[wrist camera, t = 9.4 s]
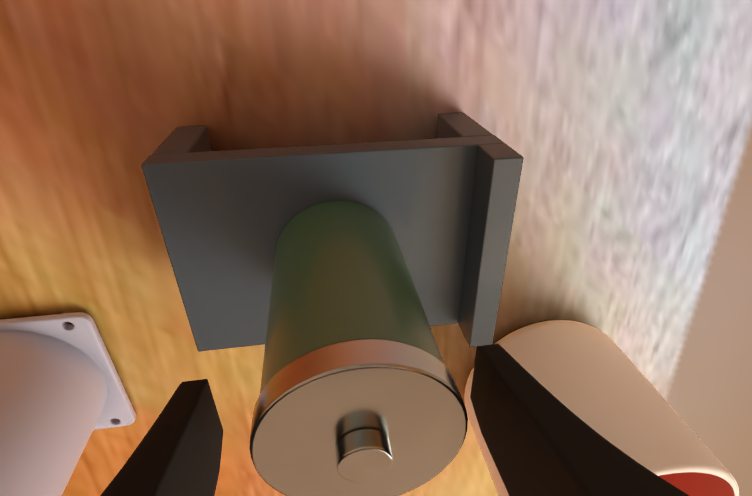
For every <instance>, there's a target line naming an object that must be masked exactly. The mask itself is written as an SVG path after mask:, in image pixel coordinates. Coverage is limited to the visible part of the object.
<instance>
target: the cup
mask: <svg viewBox="0 0 752 496" xmlns="http://www.w3.org/2000/svg"><path fill="white" fill-rule="evenodd" d="M494 344H499V345H500V346H501V347H503V348H504V349H505V350H506V351H507V352H508V353H509V354H510V355H511V356H512V357H513V358H514V359H515V360H516V361H517V362H518V363H519V364H520V365H521V366H522V367H523V368H524V369H525V370H526V371H527V372H529V373H530V374H531V375H532V376H533V377H534V378H535V379H536V380H537V381H538V382H539V383H540V384H541V385H542V386H543V387H545V388H546V389H547V390H548V391H549V392H550V393H551V394H552V395H553V396H555V397H556V398H557V399H558V400H559V401H560V402H561V403H562V404H564V405H565V406H566V407H567V408H568V409H569V410H570V411H572V412H573V413H574V414H575V415H576V416H578V417H579V418H580V419H581V420H582V421H584V422H585V423H586V424H587V425H589V426H590V427H591V428H592V429H593V430H595V431H596V432H597V433H598V434H600V435H601V436H602V437H604V438H605V439H606V440H608V441H609V442H610V443H611V444H613V445H614V446H616V447H617V448H618V449H620V450H621V451H623V452H624V453H625V454H627V455H628V456H630V457H631V458H632V459H634V460H635V461H637V462H638V463H639V464H641V465H642V466H644V467H645V468H647V469H648V470H650V471H651V472H653V473H654V474H656V475H657V476H659V477H661V478H662V479H664V480H665V481H667V482H669V483H670V484H672V485H673V486H675V487H676V488H678V489H680V490H681V491H683V492H684V493H686V494H688V495H689V496H739V488H738V484H737V482H736V480H735V479H734V477H733V476H732V475H731V474H730V472H729V471H728V470H727V469H726V468H725V467H724V466H723V464H722V463H721V462H720V461H719V460H718V459H717V458H716V457H715V455H714V454H713V453H712V452H711V451H710V450H709V449H708V448H707V446H706V445H705V444H704V443H703V442H702V441H701V440H700V439H699V437H698V436H697V435H696V434H695V433H694V432H693V431H692V430H691V428H690V427H689V426H688V425H687V424H686V423H685V422H684V420H683V419H682V418H681V417H680V416H679V415H678V414H677V413H676V411H675V410H674V409H673V408H672V407H671V406H670V405H669V404H668V402H667V401H666V400H665V399H664V398H663V397H662V396H661V394H660V393H659V392H658V391H657V390H656V389H655V388H654V387H653V385H652V384H651V383H650V382H649V381H648V380H647V379H646V378H645V376H644V375H643V374H642V373H641V372H640V371H639V370H638V369H637V367H636V366H635V365H634V364H633V363H632V362H631V361H630V359H629V358H628V357H627V356H626V355H625V354H624V353H623V352H622V350H621V349H620V348H619V347H618V346H617V345H616V344H615V343H614V341H613V340H612V339H611V338H610V337H609V336H607V335H606V334H605V333H603V332H602V331H600V330H599V329H597V328H595V327H593V326H590V325H587V324H584V323H581V322H576V321H569V320H551V321H544V322H539V323H535V324H531V325H528V326H525V327H523V328H520V329H518V330H516V331H513V332H512V333H510V334H508V335H506V336H505V337H503V338H502V339H500V340H498V341H497V342H496V343H494ZM473 373H474V367H473V369H472V370H471V372H470V374H469V377H468V379H467V383H466V387H465V394H464V399H465V408H466V411H467V415H468V418H469V420H470V423H471V425H472V428H473V431H474V433H475V436H476V438H477V441H478V444H479V446H480V449H481V451H482V454H483V457H484V459H485V462H486V464H487V467H488V469H489V472H490V475H491V477H492V480H493V482H494V485H495V488H496V490H497V493H498V495H499V496H509V494H508V492H507V490H506V488H505V485H504V483H503V481H502V479H501V476H500V474H499V472H498V470H497V467H496V465H495V463H494V461H493V458H492V456H491V454H490V452H489V449H488V447H487V445H486V443H485V440H484V438H483V436H482V433H481V430H480V427H479V424H478V421H477V418H476V415H475V411H474V408H473V405H472V402H471V398H470V395H471V387H472V380H473Z"/></svg>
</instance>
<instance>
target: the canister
mask: <svg viewBox="0 0 752 496" xmlns="http://www.w3.org/2000/svg"><path fill="white" fill-rule="evenodd" d="M467 421H468V418H467V411H466V408H465V405H464V402H463V400H462V397H461V395H460V392H459V389H458V387H457V384H456V382H455V379H454V377H453V376H452V374H451V372H450V371H449V370H448V368H447V367H446V366H445V365H444V362H443V360H442V357H441V354H440V352H439V349H438V346H437V344H436V341H435V339H434V336H433V333H432V331H431V328H430V325H429V323H428V320H427V317H426V315H425V312H424V309H423V307H422V304H421V302H420V299H419V296H418V294H417V291H416V288H415V286H414V283H413V280H412V278H411V275H410V272H409V270H408V267H407V265H406V262H405V259H404V257H403V254H402V251H401V249H400V246H399V243H398V241H397V238H396V235H395V233H394V231H393V229H392V227H391V225H390V224H389V223H388V222H387V220H386V219H385V218H384V217H383V216H382V215H380V214H379V213H378V212H376V211H375V210H373V209H371V208H369V207H368V206H365V205H362V204H360V203H355V202H351V201H328V202H323V203H319V204H316V205H313V206H311V207H309V208H307V209H305V210H303V211H301V212H300V213H299V214H297V215H296V216H295V217H293V218H292V219H291V220H290V221H289V222H288V224H287V225H286V226H285V227H284V229H283V231H282V232H281V234H280V236H279V239H278V241H277V245H276V251H275V260H274V269H273V279H272V288H271V297H270V306H269V316H268V325H267V334H266V343H265V353H264V362H263V371H262V380H261V390H260V395H259V397H258V400H257V402H256V404H255V408H254V412H253V420H252V428H251V436H250V454H251V458H252V461H253V464H254V466H255V469H256V470H257V472H258V473H259V475H260V476H261V477H262V478H263V480H264V481H265V482H266V483H267V484H269V485H270V486H271V487H272V488H274V489H275V490H277V491H279V492H280V493H282V494H284V495H286V496H399V495H402V494H404V493H406V492H409V491H411V490H413V489H415V488H417V487H419V486H421V485H423V484H424V483H426V482H427V481H429V480H430V479H432V478H433V477H435V476H436V475H437V474H438V473H440V472H441V471H442V470H443V469H444V468H445V467H446V466H447V465H448V464H449V463H450V462H451V461H452V460H453V459H454V457H455V456H456V455H457V453H458V451H459V450H460V448H461V446H462V444H463V442H464V439H465V436H466V432H467Z"/></svg>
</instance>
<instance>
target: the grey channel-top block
mask: <svg viewBox="0 0 752 496" xmlns="http://www.w3.org/2000/svg"><path fill="white" fill-rule="evenodd" d="M522 163H523V157H522V156H521V155H520V154H518V153H517V152H516V151H514V150H513V149H512V148H510V147H509V146H508V145H506V144H505V143H504V142H502V141H501V140H500V139H498V138H497V137H496V136H494V135H493V134H491V133H490V132H489V131H487V130H486V129H485V128H483V127H482V126H481V125H479V124H478V123H477V122H475V121H474V120H473V119H471V118H470V117H469V116H467V115H466V114H465V113H446V114H438V119H437V136H436V139H419V140H401V141H384V142H366V143H349V144H331V145H314V146H296V147H279V148H261V149H243V150H226V151H212V148H211V143H210V138H209V133H208V129H207V126H188V127H177V128H176V129H175V130H174V131H173V132H172V133H171V134H170V135H169V136H168V137H167V138H166V140H165V141H164V142H163V143H162V144H161V145H160V146H159V147H158V148H157V149H156V150H155V151H154V152H153V153H152V155H150V156H149V157H148V158H147V159H146V160H145V161H144V162H143V163H142V165H141V166H142V169H143V172H144V176H145V179H146V182H147V185H148V189H149V192H150V195H151V199H152V202H153V205H154V208H155V212H156V215H157V218H158V221H159V225H160V228H161V231H162V235H163V238H164V241H165V244H166V248H167V251H168V254H169V258H170V261H171V264H172V267H173V271H174V274H175V277H176V280H177V284H178V287H179V290H180V294H181V297H182V300H183V303H184V307H185V310H186V313H187V317H188V320H189V323H190V326H191V330H192V333H193V336H194V339H195V343H196V346H197V349H198V351H207V350H216V349H225V348H234V347H243V346H253V345H262V344H265V343H266V334H267V325H268V316H269V306H270V297H271V288H272V279H273V269H274V260H275V251H276V245H277V241H278V239H279V236H280V234H281V232H282V231H283V229H284V227H285V226H286V225H287V224H288V222H289V221H290V220H291V219H292V218H293V217H295V216H296V215H297V214H299V213H300V212H301V211H303V210H305V209H307V208H309V207H311V206H313V205H316V204H319V203H323V202H328V201H351V202H355V203H360V204H362V205H365V206H368V207H369V208H371V209H373V210H375V211H376V212H378V213H379V214H380V215H382V216H383V217H384V218H385V219H386V220H387V222H388V223H389V224H390V225H391V227H392V229H393V231H394V233H395V235H396V238H397V241H398V243H399V246H400V249H401V251H402V254H403V257H404V259H405V262H406V265H407V267H408V270H409V272H410V275H411V278H412V280H413V283H414V286H415V288H416V291H417V294H418V296H419V299H420V302H421V304H422V307H423V309H424V312H425V315H426V317H427V320H428V323H429V325H430V326H437V325H446V324H455V323H459V326H460V328H461V330H462V332H463V334H464V336H465V338H466V341H467V343H468V345H469V347H475V346H483V345H491V344H492V343H493V337H494V331H495V325H496V319H497V313H498V307H499V301H500V295H501V289H502V283H503V277H504V271H505V265H506V259H507V253H508V247H509V241H510V235H511V229H512V223H513V217H514V211H515V205H516V199H517V193H518V187H519V181H520V175H521V169H522Z"/></svg>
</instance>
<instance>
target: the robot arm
mask: <svg viewBox="0 0 752 496" xmlns="http://www.w3.org/2000/svg"><path fill="white" fill-rule="evenodd" d="M67 322H70V323H72V324H73V325H70V324H68V323H67ZM470 398H471V402H472V405H473V408H474V411H475V415H476V418H477V421H478V424H479V427H480V430H481V433H482V436H483V438H484V440H485V443H486V445H487V447H488V449H489V452H490V454H491V456H492V458H493V461H494V463H495V465H496V467H497V470H498V472H499V474H500V476H501V479H502V481H503V483H504V485H505V488H506V490H507V492H508V494H509V496H689V495H688V494H686V493H684V492H683V491H681V490H680V489H678V488H676V487H675V486H673V485H672V484H670V483H669V482H667V481H665V480H664V479H662V478H661V477H659V476H657V475H656V474H654V473H653V472H651V471H650V470H648V469H647V468H645V467H644V466H642V465H641V464H639V463H638V462H637V461H635V460H634V459H632V458H631V457H630V456H628V455H627V454H625V453H624V452H623V451H621V450H620V449H618V448H617V447H616V446H614V445H613V444H611V443H610V442H609V441H608V440H606V439H605V438H604V437H602V436H601V435H600V434H598V433H597V432H596V431H595V430H593V429H592V428H591V427H590V426H589V425H587V424H586V423H585V422H584V421H582V420H581V419H580V418H579V417H578V416H576V415H575V414H574V413H573V412H572V411H570V410H569V409H568V408H567V407H566V406H565V405H564V404H562V403H561V402H560V401H559V400H558V399H557V398H556V397H555V396H553V395H552V394H551V393H550V392H549V391H548V390H547V389H546V388H545V387H543V386H542V385H541V384H540V383H539V382H538V381H537V380H536V379H535V378H534V377H533V376H532V375H531V374H530V373H529V372H527V371H526V370H525V369H524V368H523V367H522V366H521V365H520V364H519V363H518V362H517V361H516V360H515V359H514V358H513V357H512V356H511V355H510V354H509V353H508V352H507V351H506V350H505V349H504V348H503V347H501V346H500V345H499V344H491V345H483V346H477V350H476V358H475V365H474V373H473V380H472V387H471V395H470ZM135 418H136V413H135V411H134V409H133V407H132V404H131V402H130V400H129V398H128V396H127V393H126V391H125V389H124V387H123V384H122V382H121V380H120V378H119V376H118V373H117V371H116V369H115V367H114V365H113V362H112V360H111V358H110V356H109V353H108V351H107V349H106V347H105V345H104V342H103V340H102V338H101V336H100V333H99V331H98V329H97V327H96V325H95V322H94V320H93V318H92V317H91V316H90V315H88V314H86V313H83V312H75V313H65V314H54V315H44V316H33V317H23V318H12V319H2V320H0V496H62V494H63V492H64V490H65V488H66V486H67V484H68V482H69V480H70V477H71V475H72V473H73V471H74V469H75V467H76V465H77V463H78V461H79V459H80V457H81V455H82V452H83V450H84V448H85V446H86V444H87V442H88V440H89V438H90V436H91V434H92V432H93V430H96V429H104V428H112V427H120V426H127V425H131V424H132V423H133V422H134V421H135ZM222 438H223V428H222V425H221V422H220V419H219V415H218V412H217V409H216V406H215V403H214V399H213V396H212V393H211V390H210V386H209V383H208V380H207V379H203V380H195V381H187V382H182V383H181V384H180V385H179V387H178V388H177V390H176V391H175V393H174V394H173V396H172V397H171V399H170V400H169V402H168V403H167V405H166V406H165V408H164V409H163V411H162V412H161V414H160V415H159V417H158V418H157V420H156V421H155V423H154V424H153V426H152V427H151V429H150V430H149V431H148V433H147V434H146V436H145V437H144V439H143V440H142V441H141V443H140V444H139V445H138V447H137V448H136V450H135V451H134V452H133V454H132V455H131V457H130V458H129V459H128V461H127V462H126V463H125V465H124V466H123V467H122V469H121V470H120V471H119V473H118V474H117V475H116V477H115V478H114V479H113V480H112V482H111V483H110V484H109V485H108V487H107V488H106V489H105V491H104V492H103V493H102V494H101V496H214V494H215V489H216V485H217V480H218V475H219V469H220V459H221V450H222Z"/></svg>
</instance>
